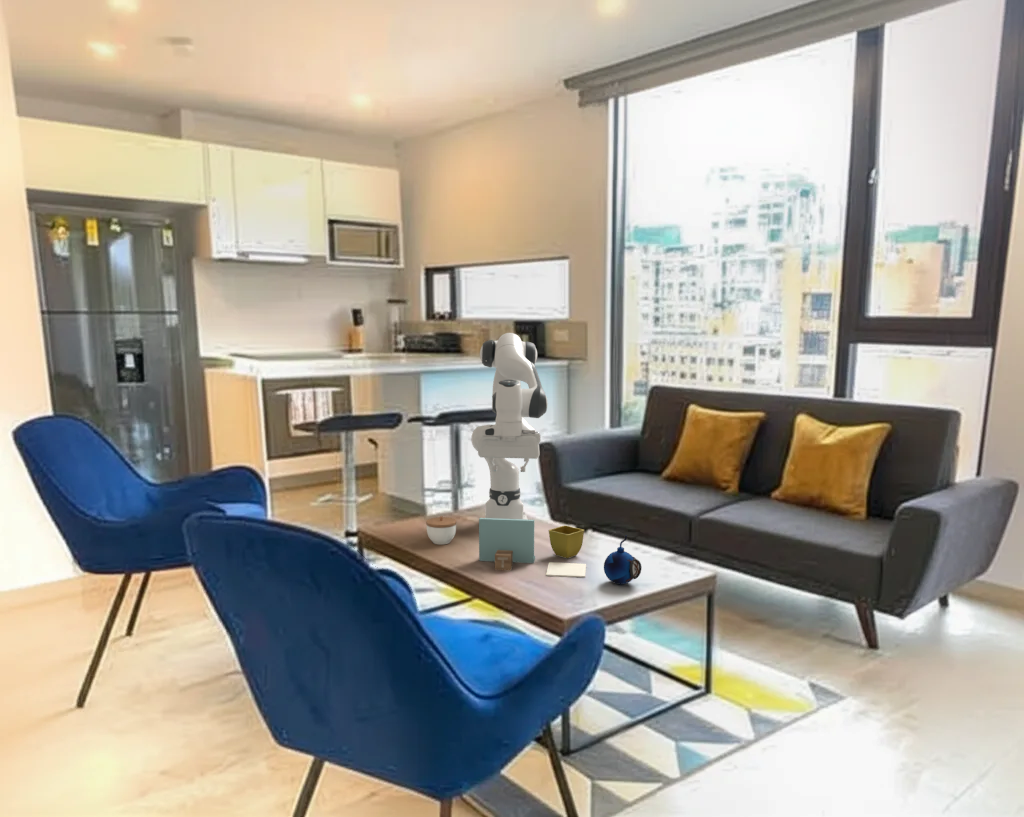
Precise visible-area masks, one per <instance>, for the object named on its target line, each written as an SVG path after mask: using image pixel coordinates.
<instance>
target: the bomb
mask: <svg viewBox="0 0 1024 817" xmlns="http://www.w3.org/2000/svg"><path fill="white" fill-rule="evenodd" d="M627 537H628V535H624V539H622V540H621V541H620V543H619V547H617V549H616V550H615V551H613V552H611V553H610V554H609V555H607V556H606V558H605V559H604V563H603V571H604V574H605V576H606V577H607V579H608V581H610V582H611V583H614V584H616V585H626V584H628V583H630V582H631V581H633V580H636V579H637V578H638V577H640V575H641V573H642V564H641V562H640V560H639V559H637V558H636V557H634V556H633V555H632V554H630V553H629V552H627V551H625V548H624V547H623V546H622V545H623V543H624V542H626V540H627V539H628V538H627Z"/></svg>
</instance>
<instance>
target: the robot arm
mask: <svg viewBox="0 0 1024 817" xmlns="http://www.w3.org/2000/svg"><path fill="white" fill-rule="evenodd" d="M479 358H480V360H481V364H483V366H484V367H488V368H495V372H494V376H493V383H492V395H491V397H492V398H491V400H492V401H491V411H492V412H493V413H494V414H496V417H495V424H484V425H480V426H476V427H475V428H474V430H473V431H472V433H471V445H472V447H473V449H474V450H475V451H476V452H477V455H478V457H480V458H483V459H484V460H485V461H486V463H487V466H488V469H489V478H490V487H489V491H488V495H489V499H488V500H487V501H486V502H485V507H484V508H485V509H484V510H485V511H484V518H498V519H526V520H529V519H528V516H527V513H526V512H525V511H524V503H523V501H522V500H521V488H520V475H519V474H520V473H526V467H527V465H528V463H529V462H530V459H531V460H533V459H535V460H537V459H538V458H539V457H540V453H541V452H540V442H541V434H540V432H538V431H537V430H536V428H534V427H533V426H532V425H531V424H530V423H528V421H527V420H526V419H525V418H531V419H539V418H541V417H542V416H543V415H544V414H546V413H547V410H548V404H549V403H548V397H547V395H546V392H545V390H544V388H543V386H542V382H541V380H540V376H539V372H538V371H537V368H536V366H535V365H536V363H537V359H538V350H537V348H536V345H535V343H533V342H530V341H522V339H521V337H520V336H519V335H517V333H513V332H506V333H504V334H503V333H502V335H500V337H499V338H498V340H493V339H490V340H486V341H484V342H483V343H482V346H481V347H480V350H479ZM521 382H523V383H525V384H527V386H528V388H522V386H521ZM507 459H523V462H524V465H521V466H520V471H519V468H518V466H517V465H515V463H512V462H511V461H509V460H507Z"/></svg>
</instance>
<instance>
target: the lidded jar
mask: <svg viewBox="0 0 1024 817" xmlns="http://www.w3.org/2000/svg"><path fill="white" fill-rule="evenodd" d="M425 523H426V533H427V536H428V538H429V539H430V541H431V542H432V543H433V544H434V545H447V544H450V543H451V541H452V540H453V539H454V537H455V536H456V533H457V519H455V518H452V517H447V516H446V517H445V516H443V515H440V516H438V517H432V518H429V519H426V521H425Z"/></svg>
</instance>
